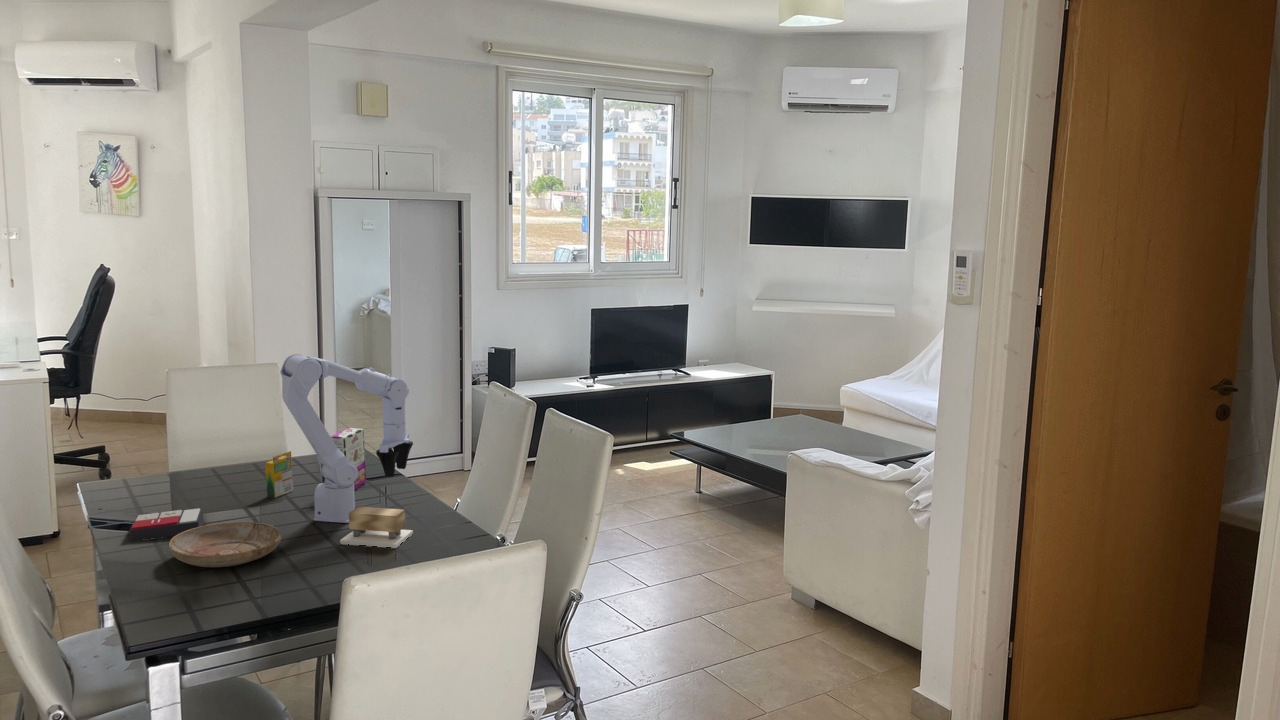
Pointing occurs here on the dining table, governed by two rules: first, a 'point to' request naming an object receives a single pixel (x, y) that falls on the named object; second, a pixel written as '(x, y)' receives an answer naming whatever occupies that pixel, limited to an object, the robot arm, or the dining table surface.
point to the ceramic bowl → (225, 543)
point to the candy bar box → (353, 450)
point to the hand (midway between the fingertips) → (395, 472)
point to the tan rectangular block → (377, 519)
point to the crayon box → (279, 475)
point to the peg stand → (376, 538)
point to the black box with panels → (165, 524)
